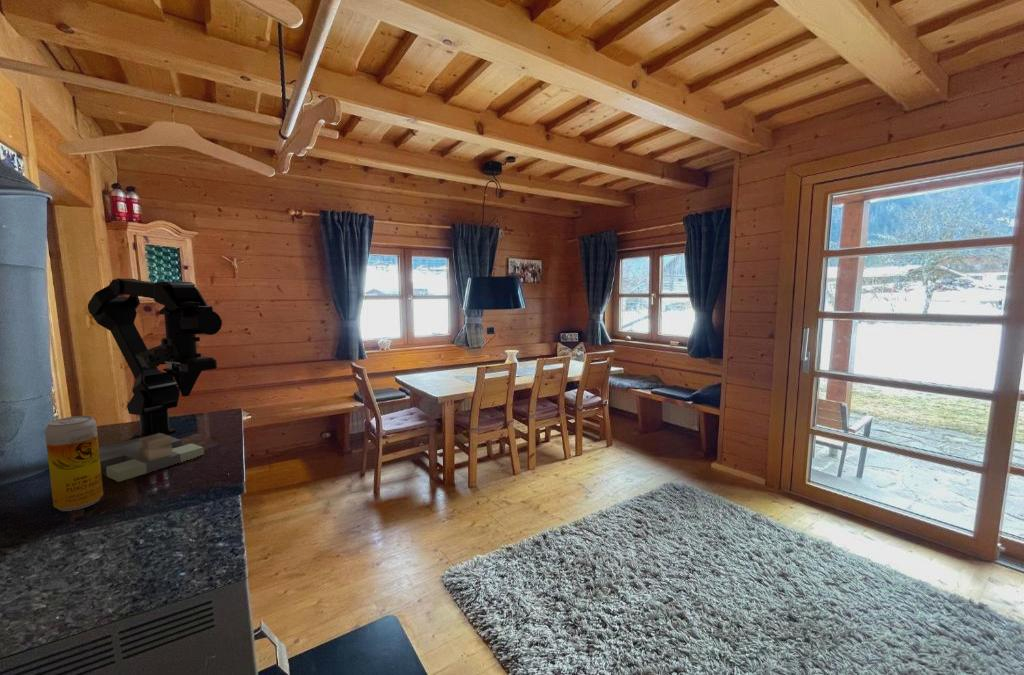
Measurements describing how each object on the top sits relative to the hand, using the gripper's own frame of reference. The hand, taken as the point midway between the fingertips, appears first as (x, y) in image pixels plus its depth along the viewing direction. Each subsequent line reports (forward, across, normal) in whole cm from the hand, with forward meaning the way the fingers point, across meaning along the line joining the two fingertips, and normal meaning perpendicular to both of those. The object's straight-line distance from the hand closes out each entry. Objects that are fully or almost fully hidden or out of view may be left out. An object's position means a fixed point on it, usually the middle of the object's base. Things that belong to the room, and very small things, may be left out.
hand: (185, 396), depth 105 cm
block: (+9, +12, -12) cm, 19 cm away
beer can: (+11, +20, -26) cm, 35 cm away
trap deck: (+11, +5, -12) cm, 17 cm away
